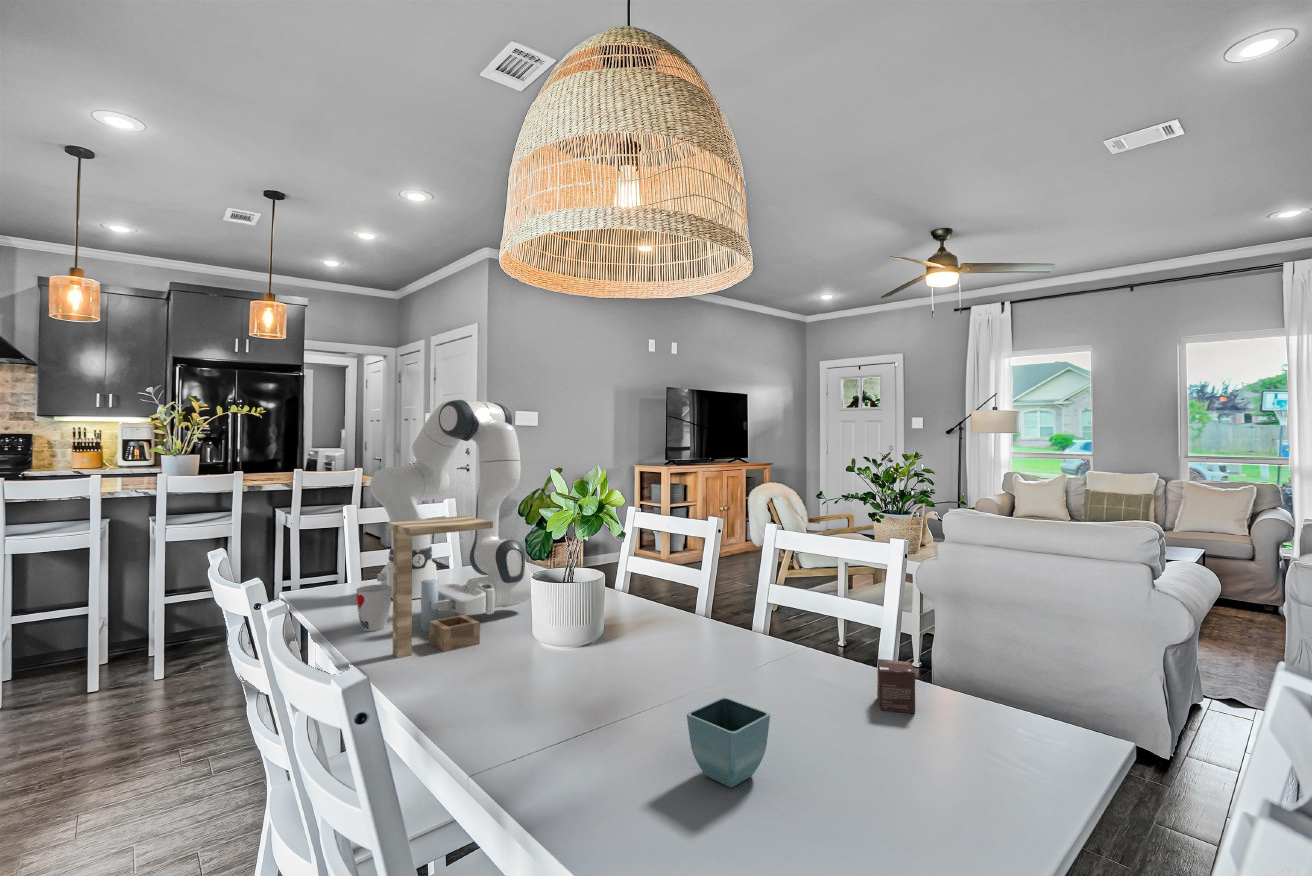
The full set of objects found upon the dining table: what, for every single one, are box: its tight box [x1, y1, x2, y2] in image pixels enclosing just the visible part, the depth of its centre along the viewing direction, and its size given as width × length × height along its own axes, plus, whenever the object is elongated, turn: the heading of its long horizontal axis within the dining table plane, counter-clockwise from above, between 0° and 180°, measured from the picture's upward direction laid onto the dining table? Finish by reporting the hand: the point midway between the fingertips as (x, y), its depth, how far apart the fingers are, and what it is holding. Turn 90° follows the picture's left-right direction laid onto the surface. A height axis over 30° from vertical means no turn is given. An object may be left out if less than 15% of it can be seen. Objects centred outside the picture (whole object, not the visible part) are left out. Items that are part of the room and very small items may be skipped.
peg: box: [420, 579, 439, 633], centre depth 159 cm, size 4×4×12 cm
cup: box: [356, 584, 392, 632], centre depth 160 cm, size 8×8×10 cm
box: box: [876, 658, 916, 714], centre depth 116 cm, size 6×6×7 cm
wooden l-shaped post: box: [386, 515, 493, 659], centre depth 147 cm, size 14×20×28 cm
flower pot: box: [686, 696, 771, 788], centre depth 92 cm, size 9×9×9 cm
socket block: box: [428, 614, 481, 653], centre depth 149 cm, size 8×8×5 cm
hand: (426, 603), depth 159 cm, fingers closed on peg, 4 cm apart
